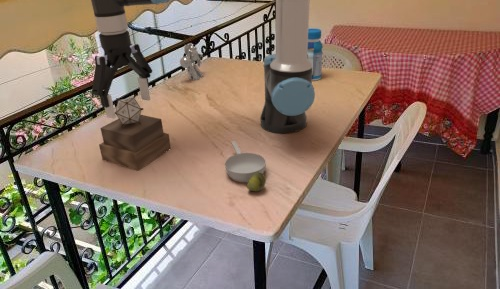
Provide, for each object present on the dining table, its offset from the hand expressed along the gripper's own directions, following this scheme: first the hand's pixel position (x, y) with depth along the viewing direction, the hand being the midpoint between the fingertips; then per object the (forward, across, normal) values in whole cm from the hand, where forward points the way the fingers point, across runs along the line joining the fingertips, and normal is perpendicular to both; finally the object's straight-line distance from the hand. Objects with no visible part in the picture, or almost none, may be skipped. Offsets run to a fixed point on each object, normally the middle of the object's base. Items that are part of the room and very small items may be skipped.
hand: (129, 108), depth 118 cm
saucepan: (+16, -7, +32) cm, 36 cm away
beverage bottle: (+16, -83, +21) cm, 87 cm away
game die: (+5, 0, 0) cm, 5 cm away
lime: (+15, +1, +41) cm, 43 cm away
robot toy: (+15, -63, -26) cm, 70 cm away
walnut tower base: (+15, 0, 0) cm, 15 cm away
